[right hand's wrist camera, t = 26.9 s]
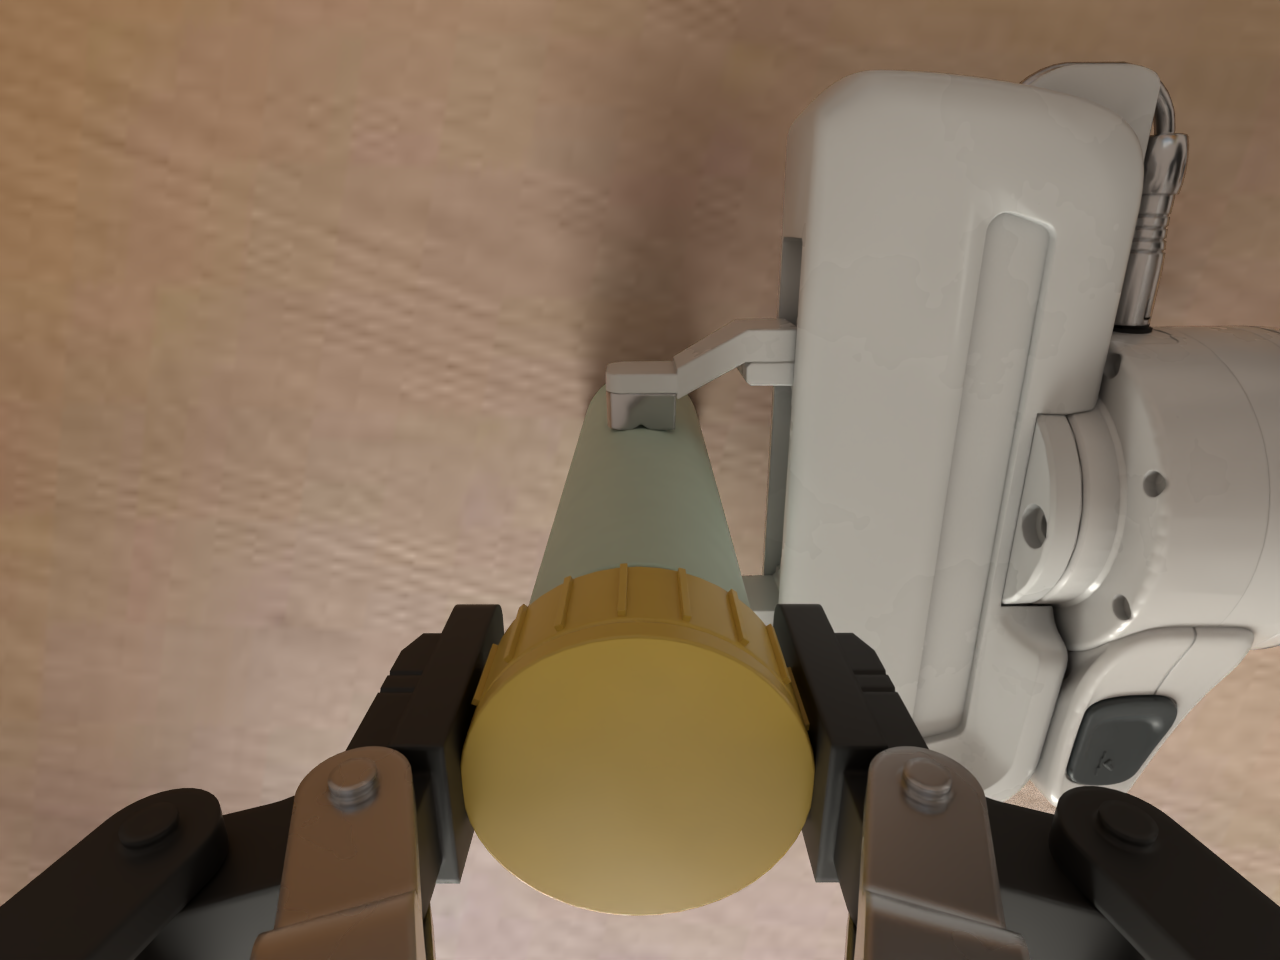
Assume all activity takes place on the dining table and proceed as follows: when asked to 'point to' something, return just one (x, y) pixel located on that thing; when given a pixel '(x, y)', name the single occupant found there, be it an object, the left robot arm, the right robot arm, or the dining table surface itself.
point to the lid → (637, 744)
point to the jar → (640, 505)
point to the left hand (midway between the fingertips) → (609, 493)
